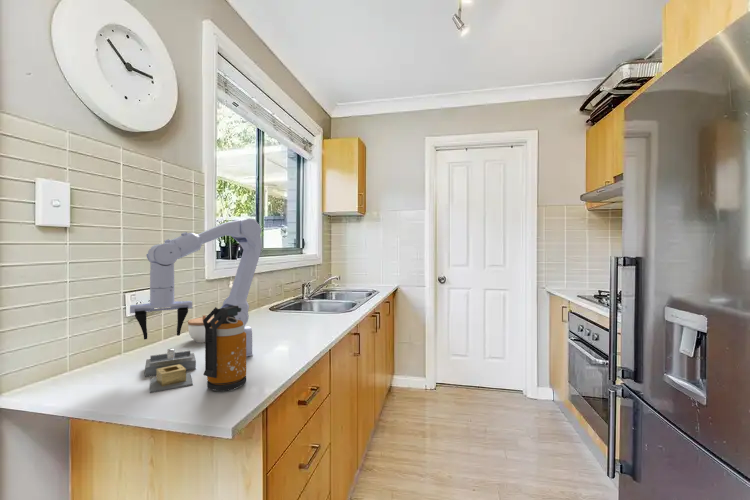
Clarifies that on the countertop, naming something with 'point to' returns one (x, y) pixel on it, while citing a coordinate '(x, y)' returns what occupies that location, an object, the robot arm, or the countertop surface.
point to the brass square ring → (170, 375)
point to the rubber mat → (157, 387)
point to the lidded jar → (197, 329)
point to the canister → (225, 349)
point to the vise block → (169, 361)
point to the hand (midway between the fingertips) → (162, 336)
